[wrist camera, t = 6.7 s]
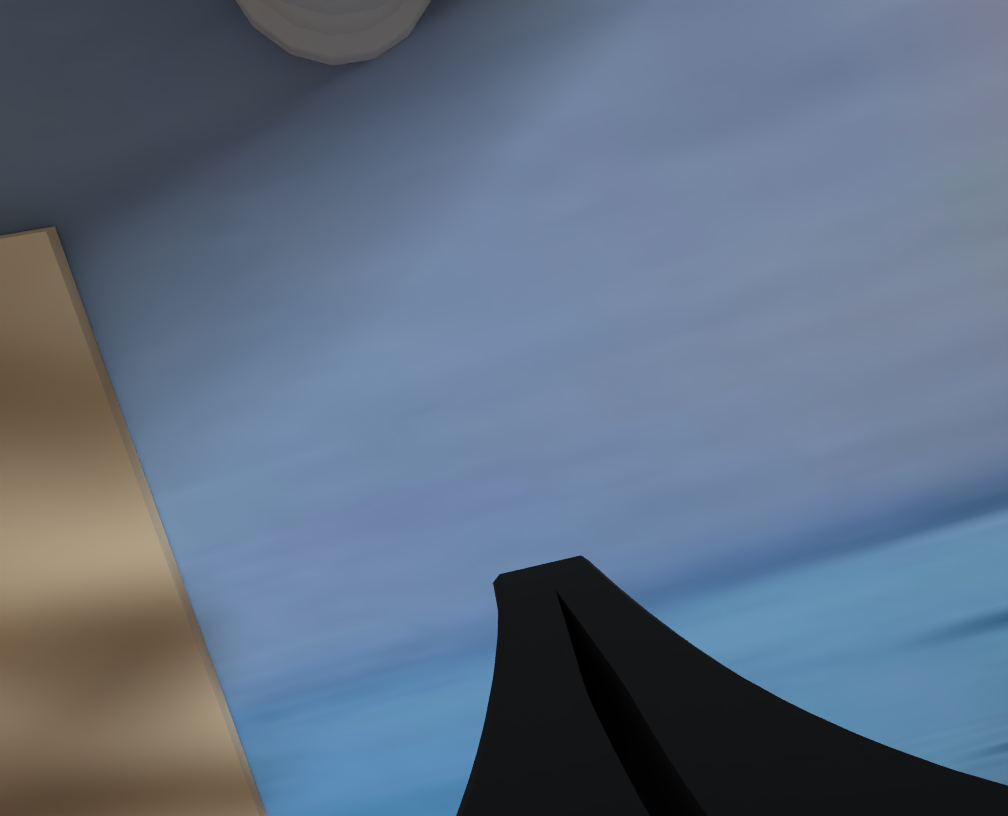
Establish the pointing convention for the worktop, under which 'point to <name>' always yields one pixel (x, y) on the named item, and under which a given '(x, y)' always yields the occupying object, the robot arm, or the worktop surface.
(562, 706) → the robot arm
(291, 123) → the worktop surface
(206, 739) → the wooden board
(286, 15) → the rook chess piece
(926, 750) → the worktop surface
